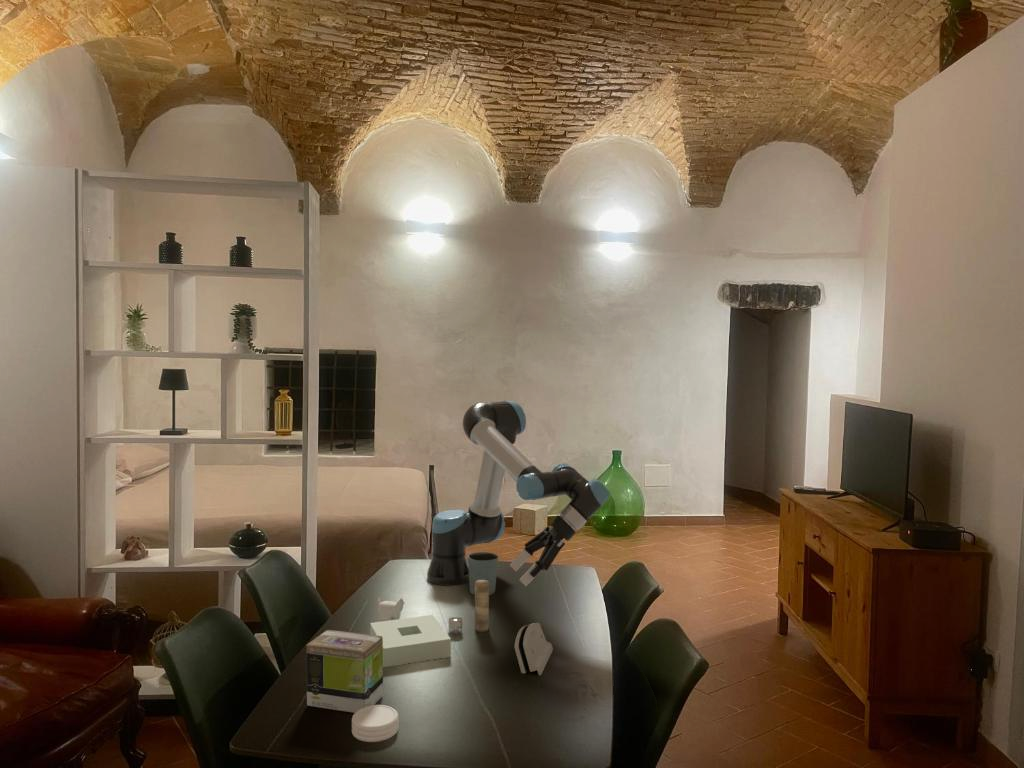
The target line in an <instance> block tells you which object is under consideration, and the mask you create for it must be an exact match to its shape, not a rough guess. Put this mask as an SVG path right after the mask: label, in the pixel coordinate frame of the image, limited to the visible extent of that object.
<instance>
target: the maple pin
mask: <svg viewBox="0 0 1024 768" xmlns="http://www.w3.org/2000/svg"><path fill="white" fill-rule="evenodd" d="M489 601H490V595H489V581H487V580H477V581H476V582H475V595H474V631H476V632H480V633H484V632H487V631H489V622H490V621H489V617H490V616H489V615H490V614H489V610H490V609H489V607H490V606H489V605H490V602H489Z"/></svg>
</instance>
